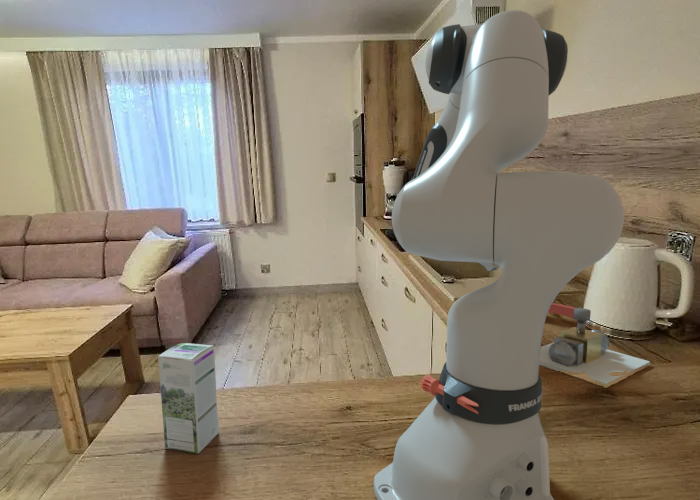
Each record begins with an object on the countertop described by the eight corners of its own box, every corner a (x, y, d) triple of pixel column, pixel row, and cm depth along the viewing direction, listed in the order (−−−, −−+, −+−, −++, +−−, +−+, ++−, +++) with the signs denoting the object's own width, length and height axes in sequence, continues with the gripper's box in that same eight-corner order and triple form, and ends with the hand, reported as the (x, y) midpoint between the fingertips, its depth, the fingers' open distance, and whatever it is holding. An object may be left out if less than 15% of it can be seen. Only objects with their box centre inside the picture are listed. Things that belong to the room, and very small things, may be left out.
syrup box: (220, 432, 62) (215, 343, 60) (197, 456, 56) (192, 358, 55) (188, 428, 63) (182, 340, 62) (162, 450, 58) (156, 354, 56)
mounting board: (606, 388, 75) (606, 383, 75) (520, 358, 90) (521, 353, 90) (649, 365, 86) (650, 361, 85) (566, 341, 101) (566, 337, 100)
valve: (574, 371, 82) (576, 330, 81) (546, 361, 87) (548, 323, 86) (610, 355, 90) (613, 318, 89) (583, 347, 95) (585, 312, 94)
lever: (585, 322, 85) (586, 312, 85) (531, 309, 96) (532, 300, 96) (592, 319, 87) (593, 310, 87) (539, 307, 98) (539, 298, 97)
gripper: (443, 221, 98) (473, 265, 91) (496, 218, 109) (527, 258, 102) (429, 237, 102) (458, 281, 95) (482, 234, 113) (511, 272, 106)
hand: (494, 269), depth 98 cm, fingers closed
